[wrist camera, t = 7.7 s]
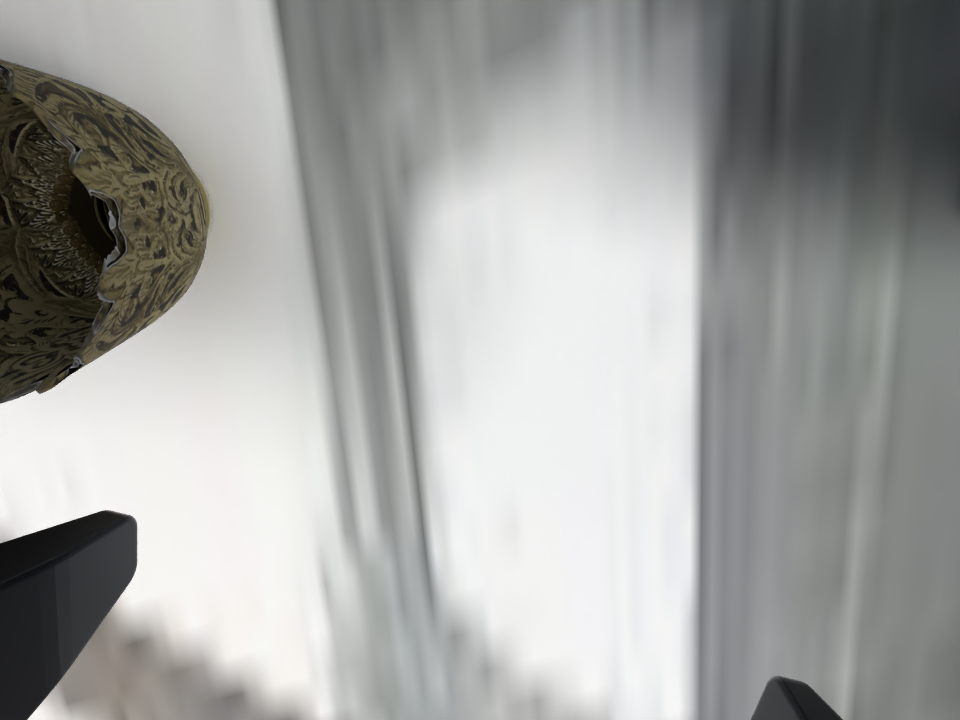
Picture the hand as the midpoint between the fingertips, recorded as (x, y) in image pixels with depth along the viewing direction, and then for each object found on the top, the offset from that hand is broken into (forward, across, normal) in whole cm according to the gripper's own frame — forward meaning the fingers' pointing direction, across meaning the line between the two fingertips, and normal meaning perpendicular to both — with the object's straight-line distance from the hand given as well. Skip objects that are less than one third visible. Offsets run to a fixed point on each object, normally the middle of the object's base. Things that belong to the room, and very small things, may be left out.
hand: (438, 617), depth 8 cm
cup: (+12, +12, -2) cm, 17 cm away
